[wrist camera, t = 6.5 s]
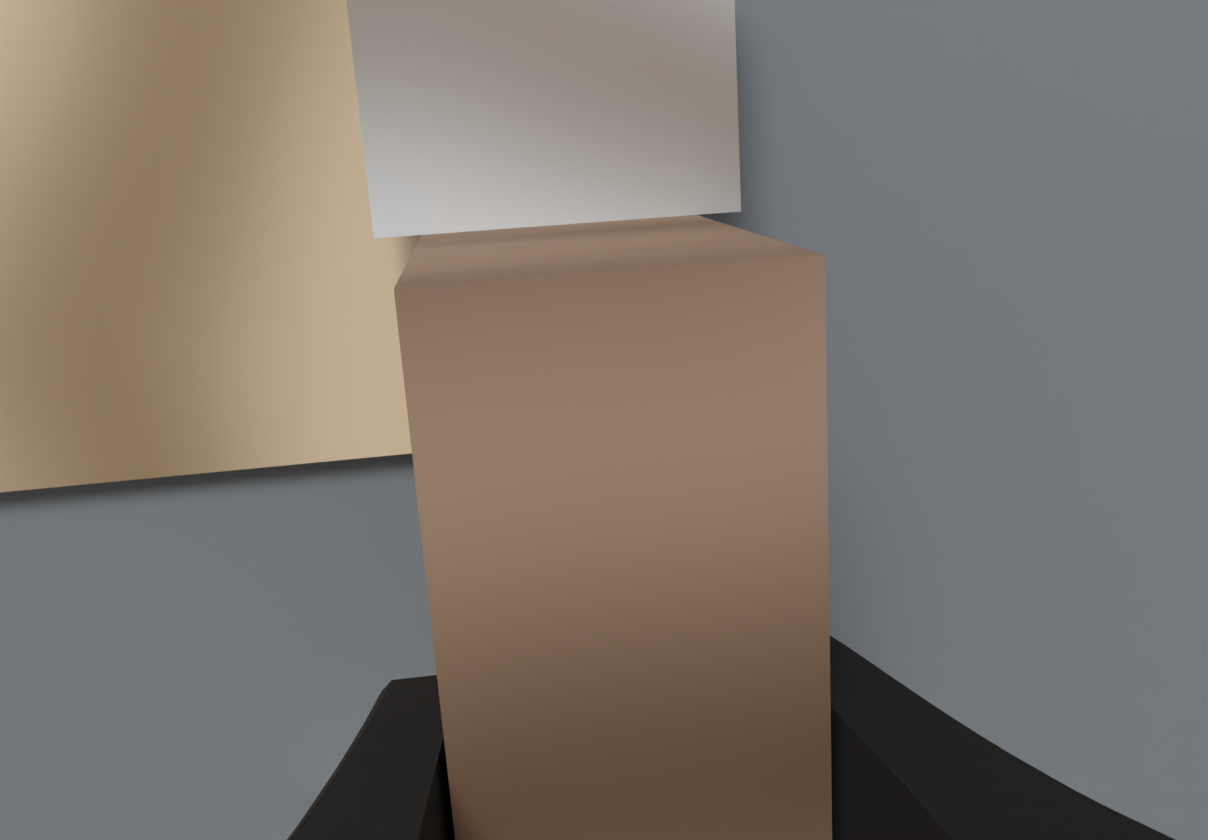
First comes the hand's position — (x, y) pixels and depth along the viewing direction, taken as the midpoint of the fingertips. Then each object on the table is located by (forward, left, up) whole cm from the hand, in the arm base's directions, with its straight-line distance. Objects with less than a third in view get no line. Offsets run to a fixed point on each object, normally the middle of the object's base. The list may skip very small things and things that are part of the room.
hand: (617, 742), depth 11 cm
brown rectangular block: (0, -2, -3) cm, 3 cm away
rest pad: (+5, -5, -5) cm, 8 cm away
